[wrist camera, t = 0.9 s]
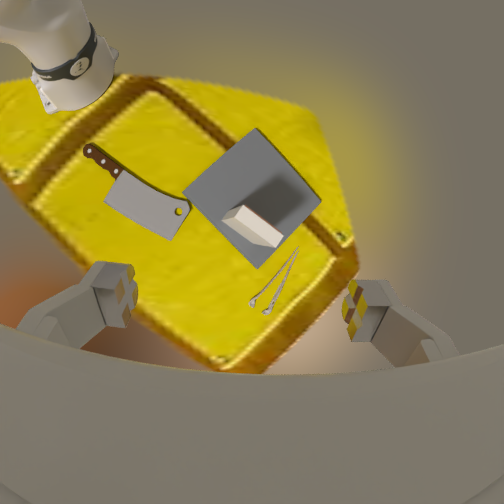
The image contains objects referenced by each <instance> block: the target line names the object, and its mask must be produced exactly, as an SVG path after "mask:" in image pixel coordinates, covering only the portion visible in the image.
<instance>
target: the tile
mask: <svg viewBox="0 0 504 504" xmlns="http://www.w3.org/2000/svg"><path fill="white" fill-rule="evenodd" d="M221 221H222V222H224V223H225V224H227V225H228V226H229V227H231V228H232V229H234V230H235V231H236V232H238V233H239V234H240V235H242V236H243V237H245V238H246V239H247V240H249V241H250V242H251V243H253V244H258V245H263V246H269V247H274V248H276V247H277V245H278V244H279V242H280V241H281V239H282V238H283V235H282V232H281V231H279V230H278V229H277V228H276V227H274V226H273V225H272V224H270V223H269V222H268V221H266V220H265V219H264V218H262V217H261V216H260V215H258V214H257V213H256V212H254V211H253V210H252V209H250V208H249V207H248V206H246V205H242V206H239V207H237V208H234V209H232V210H229V211H228V212H227V213H226V214H225V216H224V217H223V219H222V220H221Z"/></svg>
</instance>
